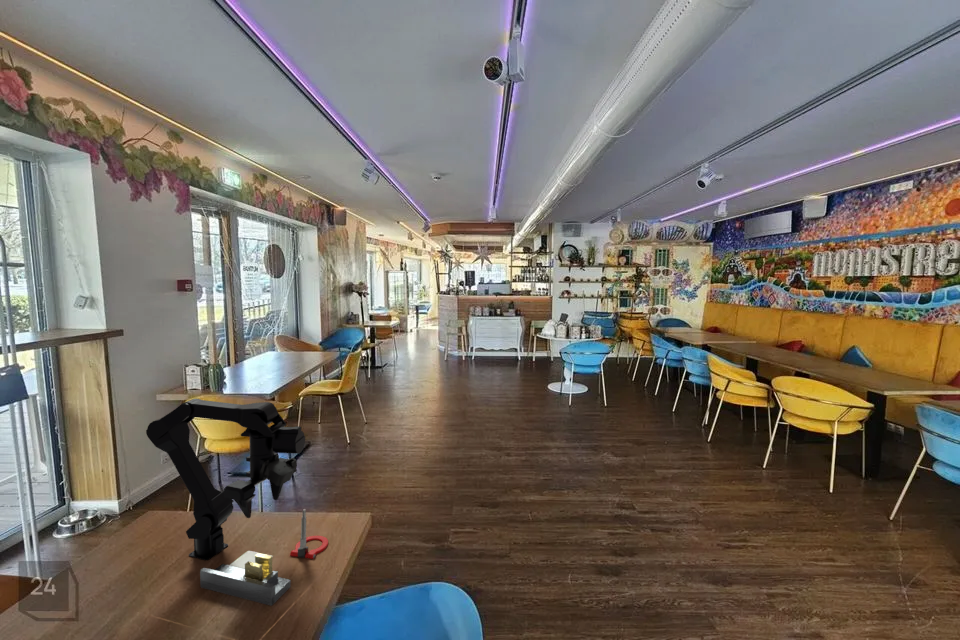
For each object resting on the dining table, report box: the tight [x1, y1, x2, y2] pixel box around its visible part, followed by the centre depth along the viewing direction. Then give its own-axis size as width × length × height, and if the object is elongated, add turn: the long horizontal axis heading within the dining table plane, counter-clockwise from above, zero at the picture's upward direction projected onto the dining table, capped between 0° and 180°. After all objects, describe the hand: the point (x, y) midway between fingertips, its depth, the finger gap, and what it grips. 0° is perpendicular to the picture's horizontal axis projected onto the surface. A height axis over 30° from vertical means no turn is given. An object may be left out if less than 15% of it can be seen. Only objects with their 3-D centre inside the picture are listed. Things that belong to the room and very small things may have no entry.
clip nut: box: [245, 552, 273, 581], centre depth 94 cm, size 4×4×5 cm
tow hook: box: [289, 508, 329, 560], centre depth 110 cm, size 8×13×9 cm
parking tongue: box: [229, 550, 274, 569], centre depth 104 cm, size 8×6×1 cm
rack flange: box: [199, 563, 292, 607], centre depth 95 cm, size 20×6×4 cm, turn 76°
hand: (262, 508), depth 107 cm, fingers open, 9 cm apart
